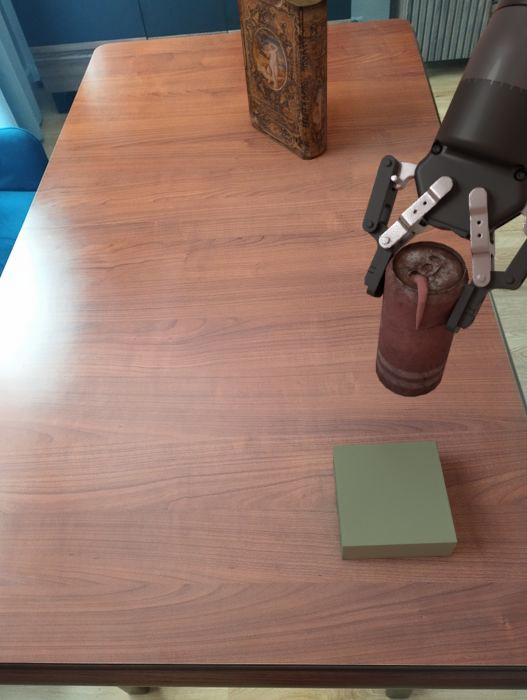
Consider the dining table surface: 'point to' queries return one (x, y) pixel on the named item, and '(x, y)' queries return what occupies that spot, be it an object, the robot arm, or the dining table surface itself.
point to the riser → (392, 501)
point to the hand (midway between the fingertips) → (411, 312)
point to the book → (287, 71)
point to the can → (418, 316)
